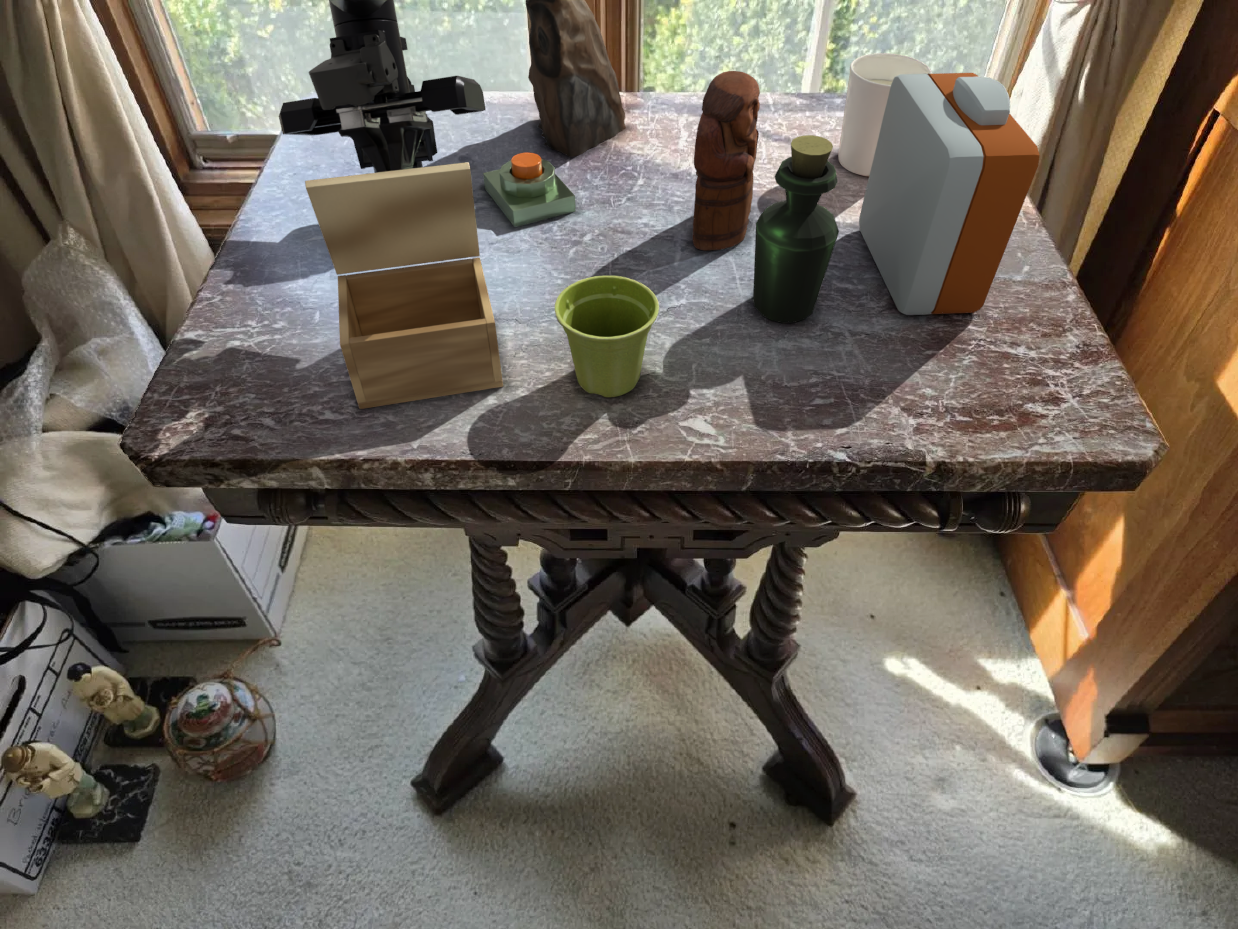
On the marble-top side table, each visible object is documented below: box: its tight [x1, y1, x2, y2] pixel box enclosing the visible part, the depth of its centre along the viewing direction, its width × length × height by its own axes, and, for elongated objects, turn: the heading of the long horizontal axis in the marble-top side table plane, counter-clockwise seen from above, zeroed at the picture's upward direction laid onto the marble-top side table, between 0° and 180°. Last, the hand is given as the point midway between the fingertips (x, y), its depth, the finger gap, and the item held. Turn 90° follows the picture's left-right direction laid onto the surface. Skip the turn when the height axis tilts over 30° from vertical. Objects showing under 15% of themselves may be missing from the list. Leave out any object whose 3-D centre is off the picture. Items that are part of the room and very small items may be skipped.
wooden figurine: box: [692, 70, 761, 251], centre depth 94 cm, size 12×6×18 cm, turn 164°
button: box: [510, 151, 542, 179], centre depth 102 cm, size 4×4×2 cm
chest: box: [337, 257, 504, 410], centre depth 81 cm, size 11×14×8 cm
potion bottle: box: [752, 134, 840, 324], centre depth 84 cm, size 8×8×18 cm
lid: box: [304, 161, 481, 276], centre depth 76 cm, size 12×14×1 cm
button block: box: [482, 158, 576, 228], centre depth 104 cm, size 10×8×4 cm
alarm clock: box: [858, 72, 1041, 316], centre depth 88 cm, size 18×9×21 cm, turn 4°
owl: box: [525, 0, 627, 158], centre depth 110 cm, size 13×13×20 cm
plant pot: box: [554, 275, 660, 398], centre depth 80 cm, size 9×9×9 cm
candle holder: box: [837, 52, 933, 177], centre depth 108 cm, size 10×10×12 cm
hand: (399, 202), depth 83 cm, fingers closed
